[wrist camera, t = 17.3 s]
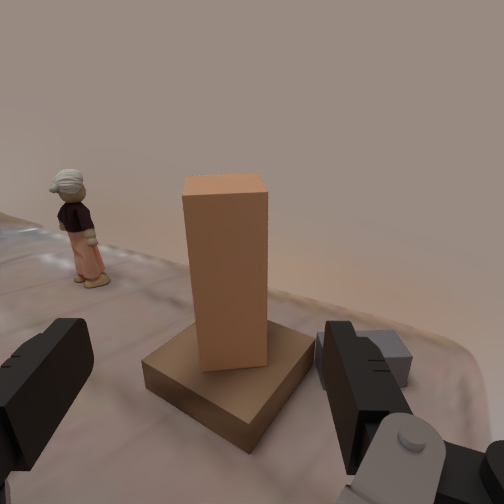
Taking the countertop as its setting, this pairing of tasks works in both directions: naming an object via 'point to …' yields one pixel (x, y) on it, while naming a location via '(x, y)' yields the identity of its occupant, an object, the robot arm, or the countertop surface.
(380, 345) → the charcoal brick
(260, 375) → the walnut block
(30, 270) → the countertop surface
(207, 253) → the light brown brick
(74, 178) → the grandmother figurine
